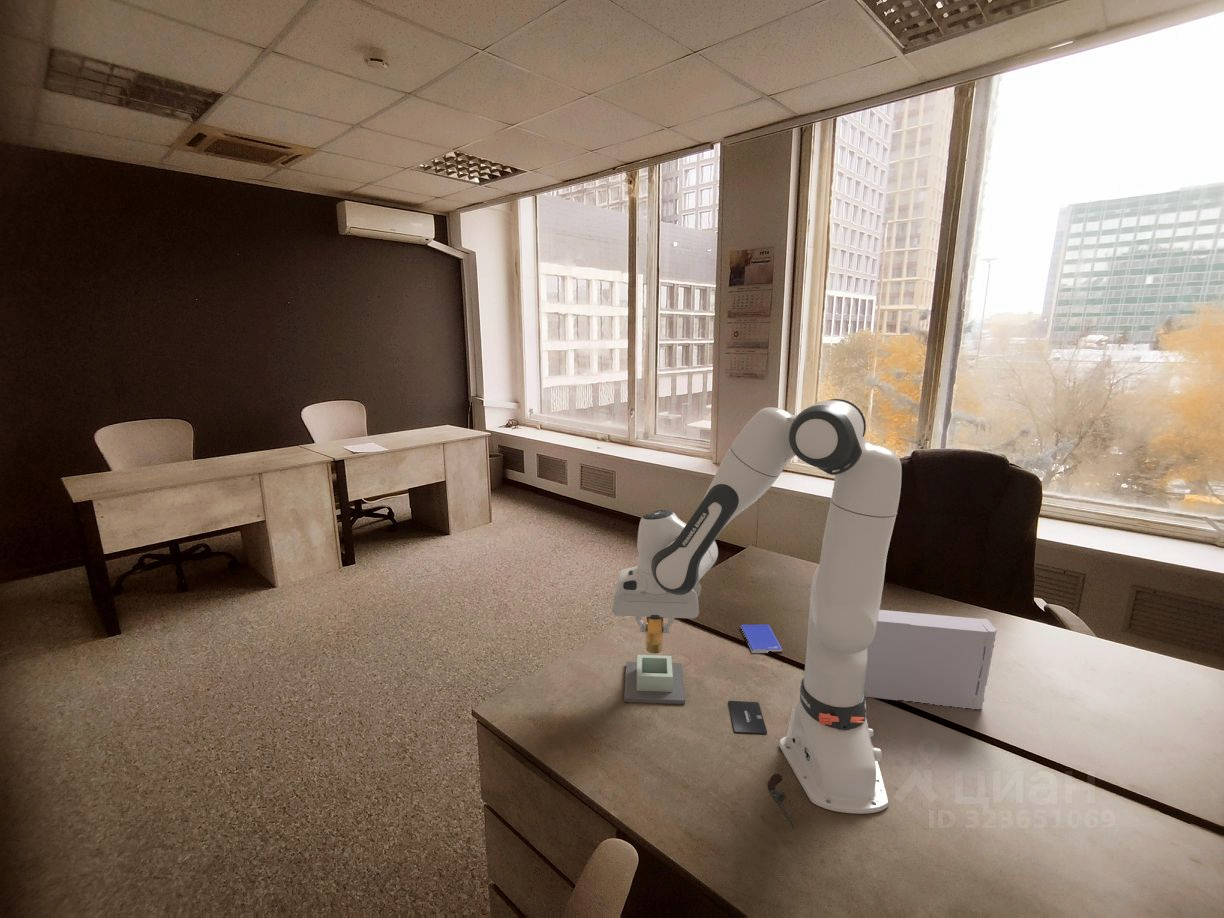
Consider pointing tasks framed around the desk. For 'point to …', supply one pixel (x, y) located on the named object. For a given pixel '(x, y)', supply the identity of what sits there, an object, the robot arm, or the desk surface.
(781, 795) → the dark curved piece
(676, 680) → the docking plate
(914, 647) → the game console
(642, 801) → the desk surface
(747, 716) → the solid state drive
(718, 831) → the desk surface
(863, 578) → the robot arm
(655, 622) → the bottle
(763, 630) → the hard drive
